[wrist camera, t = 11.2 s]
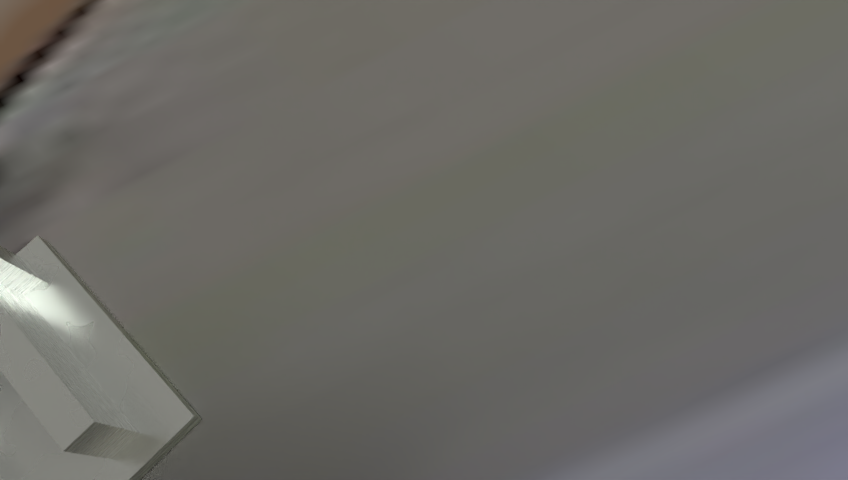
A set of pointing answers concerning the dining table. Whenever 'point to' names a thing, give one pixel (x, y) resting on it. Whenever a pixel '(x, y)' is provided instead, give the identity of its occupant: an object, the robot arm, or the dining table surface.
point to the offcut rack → (75, 380)
